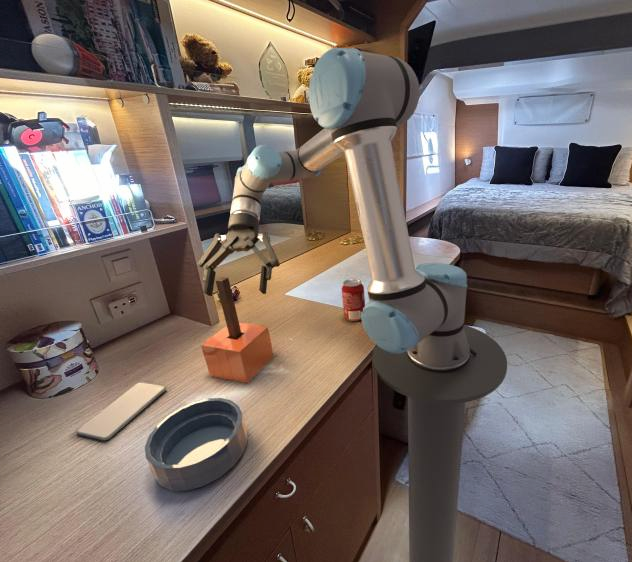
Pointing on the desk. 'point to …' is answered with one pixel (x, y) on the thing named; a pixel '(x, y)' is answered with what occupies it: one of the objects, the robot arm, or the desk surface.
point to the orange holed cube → (238, 353)
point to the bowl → (196, 444)
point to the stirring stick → (228, 307)
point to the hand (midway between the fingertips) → (235, 293)
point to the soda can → (353, 299)
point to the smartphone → (121, 411)
